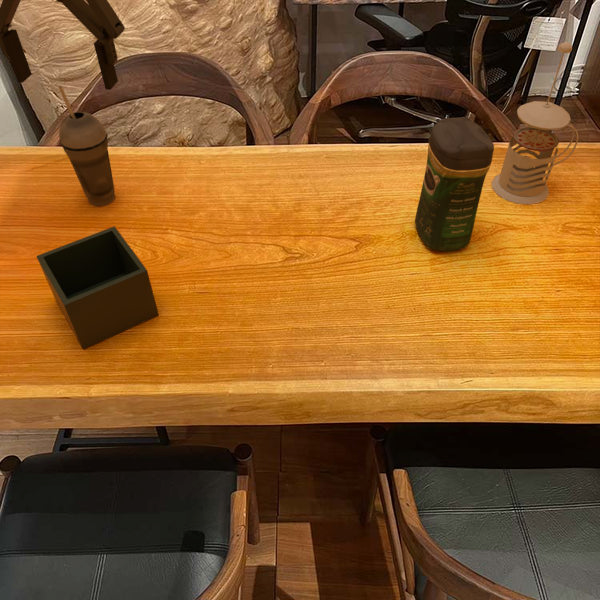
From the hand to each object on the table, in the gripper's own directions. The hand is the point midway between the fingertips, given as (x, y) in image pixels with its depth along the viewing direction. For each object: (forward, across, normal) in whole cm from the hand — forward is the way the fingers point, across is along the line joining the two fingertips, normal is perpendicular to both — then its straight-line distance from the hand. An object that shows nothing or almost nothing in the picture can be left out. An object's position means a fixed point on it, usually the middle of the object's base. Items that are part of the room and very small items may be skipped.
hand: (68, 82), depth 85 cm
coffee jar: (+21, -57, -1) cm, 61 cm away
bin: (+21, -11, +24) cm, 34 cm away
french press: (+22, -71, -16) cm, 76 cm away
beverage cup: (+21, 0, 0) cm, 21 cm away
